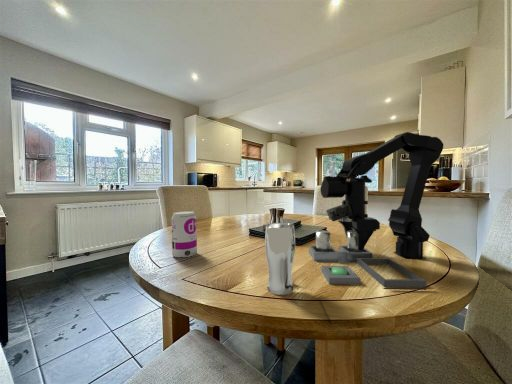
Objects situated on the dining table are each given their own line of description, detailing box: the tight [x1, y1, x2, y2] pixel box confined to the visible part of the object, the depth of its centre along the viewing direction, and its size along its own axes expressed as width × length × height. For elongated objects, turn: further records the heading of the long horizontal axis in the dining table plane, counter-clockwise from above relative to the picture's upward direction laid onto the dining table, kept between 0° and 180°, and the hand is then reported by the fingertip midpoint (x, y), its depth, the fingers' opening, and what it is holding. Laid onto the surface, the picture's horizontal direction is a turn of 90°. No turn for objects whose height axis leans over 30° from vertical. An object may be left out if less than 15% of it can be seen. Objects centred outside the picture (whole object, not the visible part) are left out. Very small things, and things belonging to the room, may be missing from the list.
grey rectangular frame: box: [356, 257, 427, 291], centre depth 54 cm, size 9×14×2 cm, turn 177°
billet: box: [346, 230, 362, 252], centre depth 66 cm, size 4×4×8 cm
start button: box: [332, 267, 347, 275], centre depth 52 cm, size 4×4×2 cm
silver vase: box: [264, 222, 296, 296], centre depth 49 cm, size 7×7×15 cm
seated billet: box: [315, 230, 331, 252], centre depth 67 cm, size 4×4×8 cm
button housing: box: [321, 265, 361, 285], centre depth 52 cm, size 7×7×2 cm
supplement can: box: [171, 210, 198, 258], centre depth 73 cm, size 8×8×15 cm
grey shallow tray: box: [308, 245, 373, 264], centre depth 67 cm, size 17×10×4 cm, turn 87°
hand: (354, 246), depth 66 cm, fingers open, 8 cm apart
